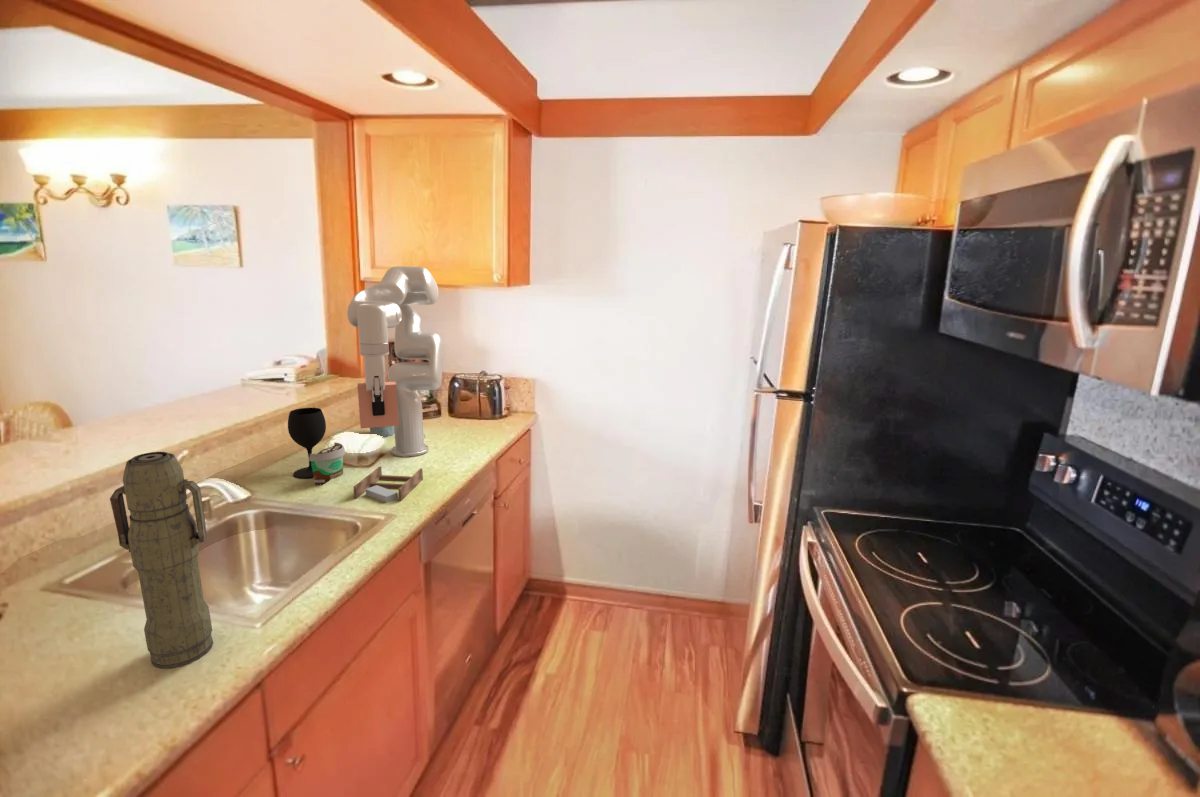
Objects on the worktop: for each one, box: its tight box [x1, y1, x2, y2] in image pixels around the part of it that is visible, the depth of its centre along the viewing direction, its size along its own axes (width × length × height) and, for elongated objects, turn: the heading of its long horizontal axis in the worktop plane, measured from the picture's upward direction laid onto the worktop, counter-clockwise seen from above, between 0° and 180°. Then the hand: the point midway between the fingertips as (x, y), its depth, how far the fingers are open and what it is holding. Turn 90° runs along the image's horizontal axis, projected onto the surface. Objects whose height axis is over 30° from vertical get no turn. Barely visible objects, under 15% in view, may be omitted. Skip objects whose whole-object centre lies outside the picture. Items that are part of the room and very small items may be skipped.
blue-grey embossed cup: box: [369, 426, 395, 438], centre depth 219 cm, size 10×10×12 cm
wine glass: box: [287, 407, 327, 480], centre depth 178 cm, size 10×10×20 cm
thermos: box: [109, 451, 214, 670], centre depth 94 cm, size 9×12×35 cm
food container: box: [308, 442, 346, 486], centre depth 173 cm, size 12×6×10 cm, turn 168°
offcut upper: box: [365, 485, 399, 503], centre depth 160 cm, size 4×9×2 cm, turn 57°
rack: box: [353, 466, 424, 502], centre depth 165 cm, size 16×13×5 cm
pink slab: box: [356, 381, 399, 429], centre depth 162 cm, size 4×10×12 cm, turn 111°
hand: (378, 412), depth 163 cm, fingers closed on pink slab, 4 cm apart
